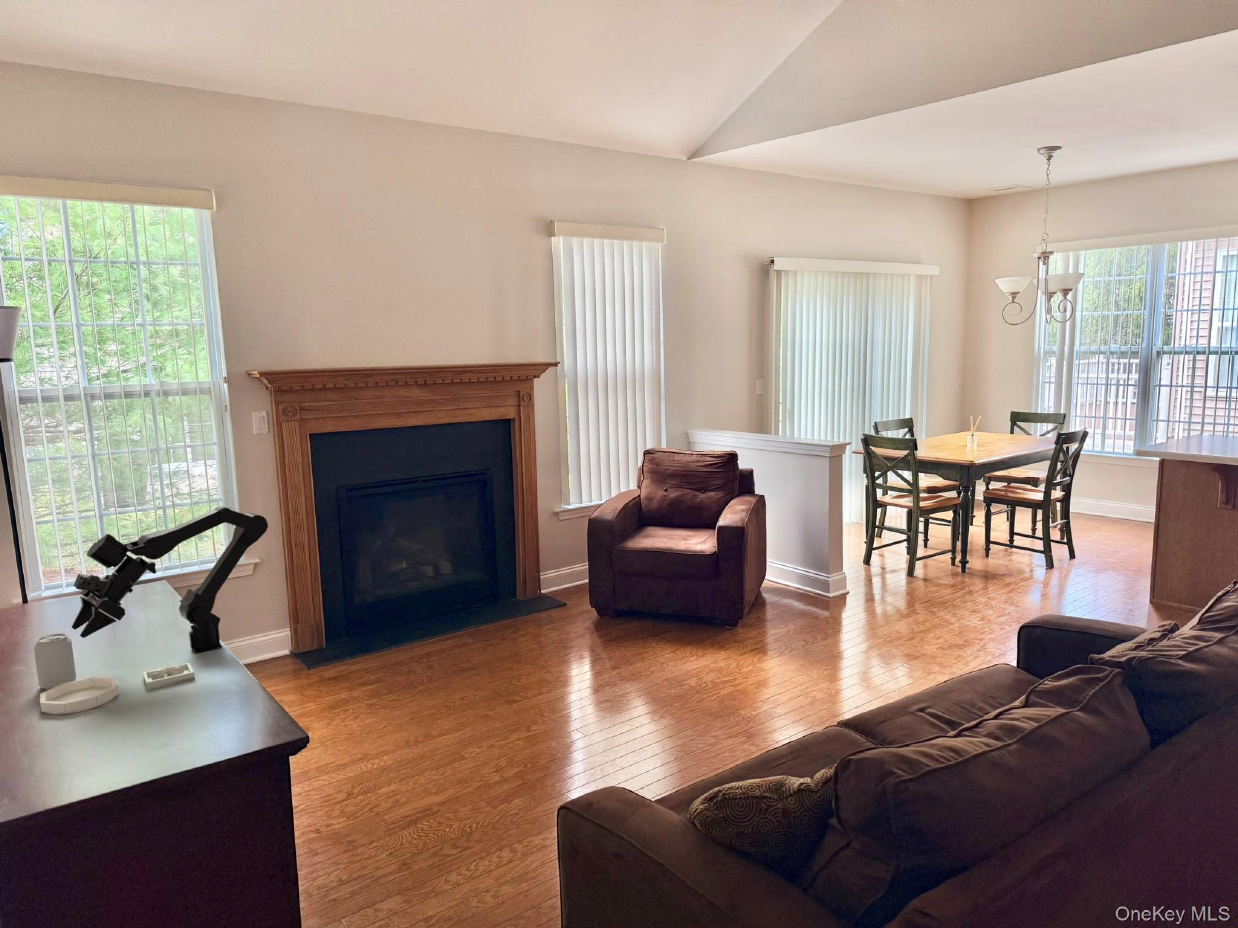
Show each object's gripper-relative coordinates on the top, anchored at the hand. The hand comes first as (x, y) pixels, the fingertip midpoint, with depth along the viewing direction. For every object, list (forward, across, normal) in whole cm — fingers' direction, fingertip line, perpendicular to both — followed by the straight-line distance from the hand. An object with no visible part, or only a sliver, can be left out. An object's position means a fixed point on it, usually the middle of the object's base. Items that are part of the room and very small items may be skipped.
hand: (77, 632), depth 202 cm
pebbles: (-2, +17, +18) cm, 25 cm away
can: (+12, 0, +5) cm, 13 cm away
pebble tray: (-2, +17, +18) cm, 25 cm away
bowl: (+11, +15, +6) cm, 20 cm away
